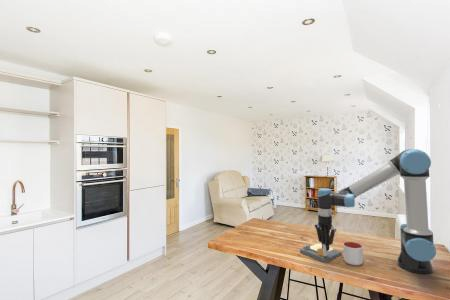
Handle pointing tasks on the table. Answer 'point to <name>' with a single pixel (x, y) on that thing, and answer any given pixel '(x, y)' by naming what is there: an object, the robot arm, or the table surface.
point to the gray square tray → (312, 252)
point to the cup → (353, 253)
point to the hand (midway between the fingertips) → (325, 255)
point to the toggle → (320, 252)
